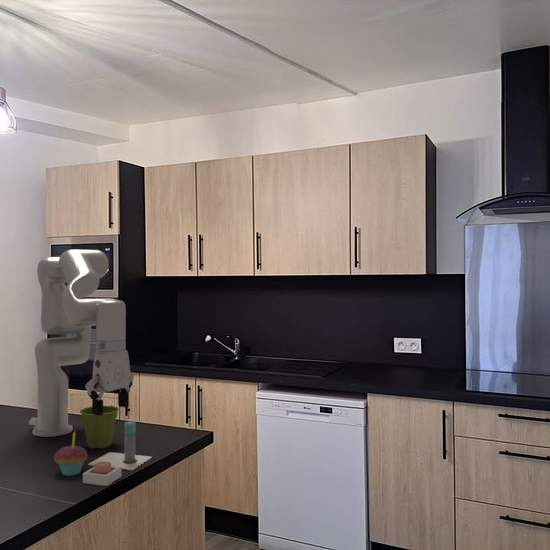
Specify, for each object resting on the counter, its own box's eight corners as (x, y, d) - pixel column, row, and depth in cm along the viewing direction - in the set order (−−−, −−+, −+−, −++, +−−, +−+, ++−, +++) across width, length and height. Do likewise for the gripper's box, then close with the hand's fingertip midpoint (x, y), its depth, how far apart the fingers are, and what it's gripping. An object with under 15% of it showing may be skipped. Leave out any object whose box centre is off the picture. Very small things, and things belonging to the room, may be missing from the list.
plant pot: (126, 441, 183) (126, 406, 183) (105, 453, 172) (106, 415, 171) (93, 438, 186) (93, 403, 186) (71, 449, 175) (71, 412, 175)
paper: (88, 465, 161) (88, 463, 161) (109, 453, 172) (109, 451, 172) (132, 470, 157) (132, 469, 157) (151, 457, 168) (152, 456, 168)
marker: (122, 462, 163) (122, 423, 162) (127, 458, 166) (127, 420, 165) (131, 463, 162) (132, 424, 162) (137, 459, 165) (137, 421, 165)
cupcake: (93, 472, 155) (93, 428, 155) (63, 481, 149) (64, 434, 149) (77, 465, 161) (77, 422, 161) (47, 472, 155) (48, 428, 155)
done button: (90, 475, 149) (90, 466, 149) (99, 470, 153) (99, 460, 153) (105, 477, 147) (105, 468, 147) (114, 472, 152) (114, 462, 152)
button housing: (82, 483, 148) (82, 473, 148) (98, 473, 155) (98, 464, 155) (106, 486, 146) (106, 476, 146) (121, 476, 153) (121, 467, 153)
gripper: (98, 351, 144) (98, 419, 144) (143, 343, 159) (143, 405, 159) (76, 349, 147) (75, 416, 147) (122, 342, 163) (122, 402, 163)
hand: (110, 410), depth 153 cm, fingers open, 9 cm apart
